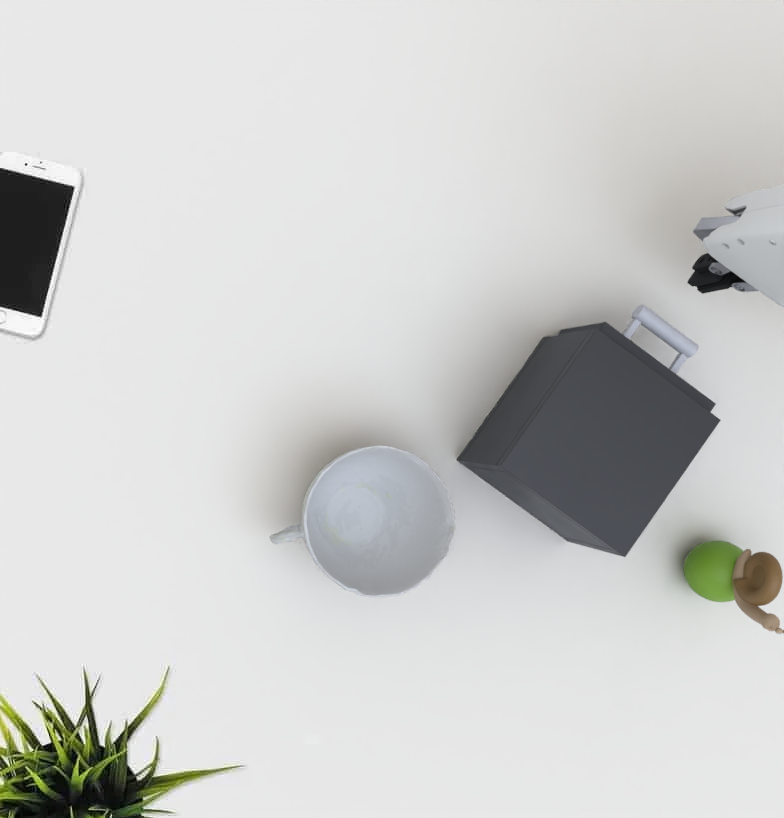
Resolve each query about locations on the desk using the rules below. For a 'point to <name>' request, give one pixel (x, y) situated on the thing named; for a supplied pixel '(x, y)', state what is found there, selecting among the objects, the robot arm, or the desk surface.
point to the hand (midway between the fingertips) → (703, 273)
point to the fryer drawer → (664, 333)
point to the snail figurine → (736, 578)
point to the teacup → (375, 521)
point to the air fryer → (589, 440)
